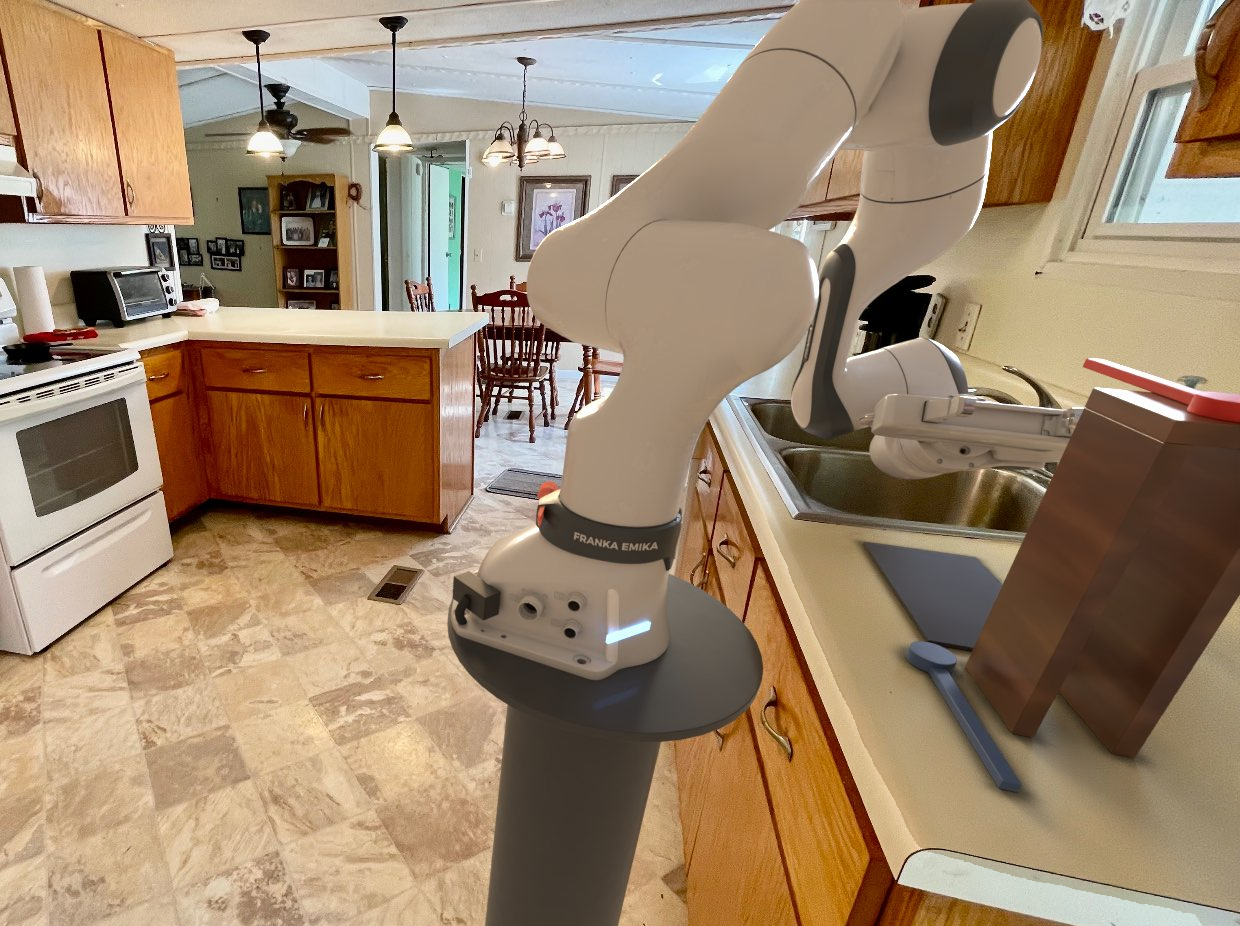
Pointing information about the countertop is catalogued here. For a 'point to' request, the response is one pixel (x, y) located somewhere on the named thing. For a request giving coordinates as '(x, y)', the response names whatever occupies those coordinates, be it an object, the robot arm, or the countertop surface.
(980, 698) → the countertop surface
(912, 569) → the charcoal mat
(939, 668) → the blue spoon
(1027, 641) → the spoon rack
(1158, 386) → the red spoon
